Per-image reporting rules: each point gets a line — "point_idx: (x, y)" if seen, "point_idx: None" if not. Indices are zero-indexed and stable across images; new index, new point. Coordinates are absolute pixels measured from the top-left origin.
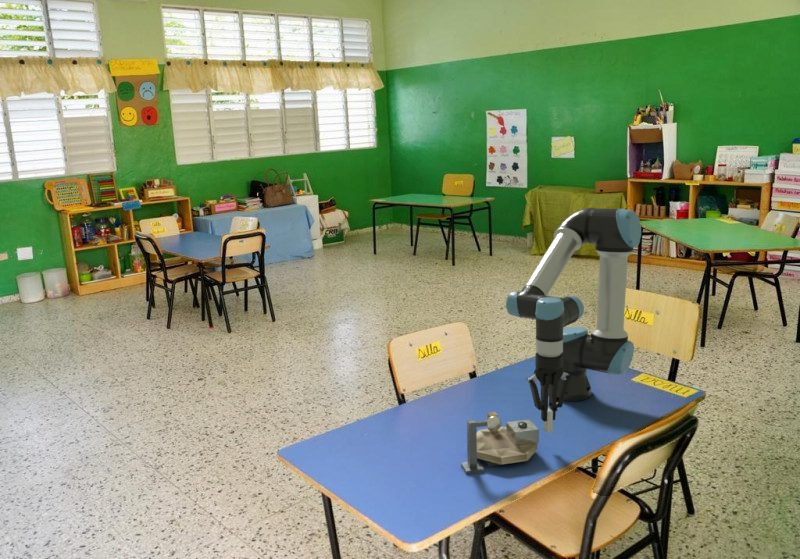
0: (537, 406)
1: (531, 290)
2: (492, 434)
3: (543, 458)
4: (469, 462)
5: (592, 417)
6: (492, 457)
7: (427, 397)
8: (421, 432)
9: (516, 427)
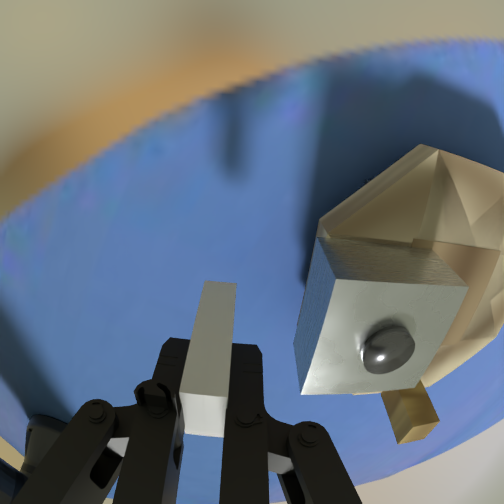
0: (336, 453)
1: None
2: None
3: (298, 178)
4: None
5: (28, 359)
6: None
7: None
8: (461, 405)
9: (424, 335)
